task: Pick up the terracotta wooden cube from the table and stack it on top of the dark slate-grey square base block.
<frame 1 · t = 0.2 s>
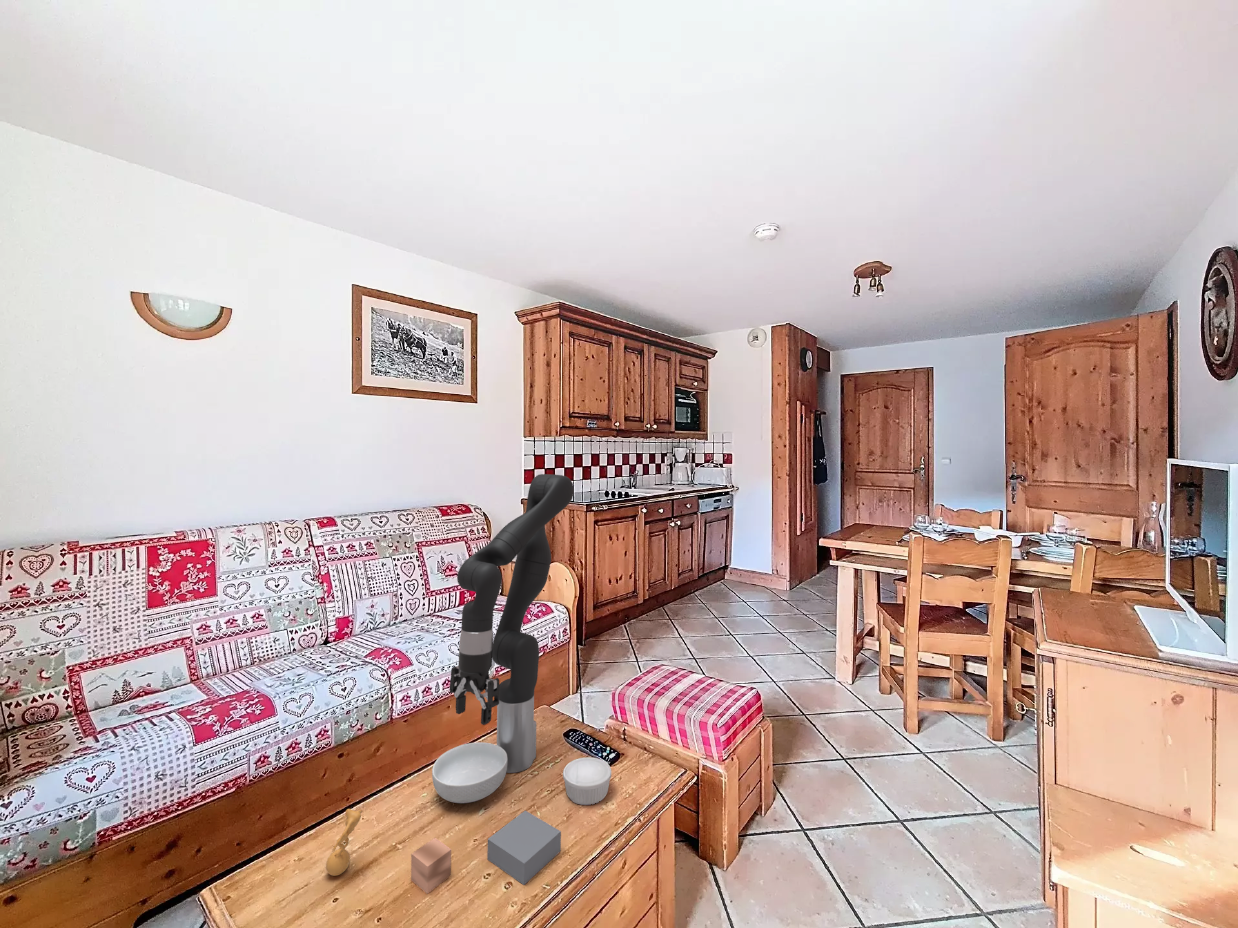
hand: (472, 717, 118), 17 cm above the table, tool pointing down, fingers open, 8 cm apart
ramekin: (586, 793, 119), on the table
cereal bowl: (470, 792, 119), on the table
figurine: (343, 873, 95), on the table
slate base: (524, 855, 100), on the table
terracotta cube: (431, 877, 94), on the table
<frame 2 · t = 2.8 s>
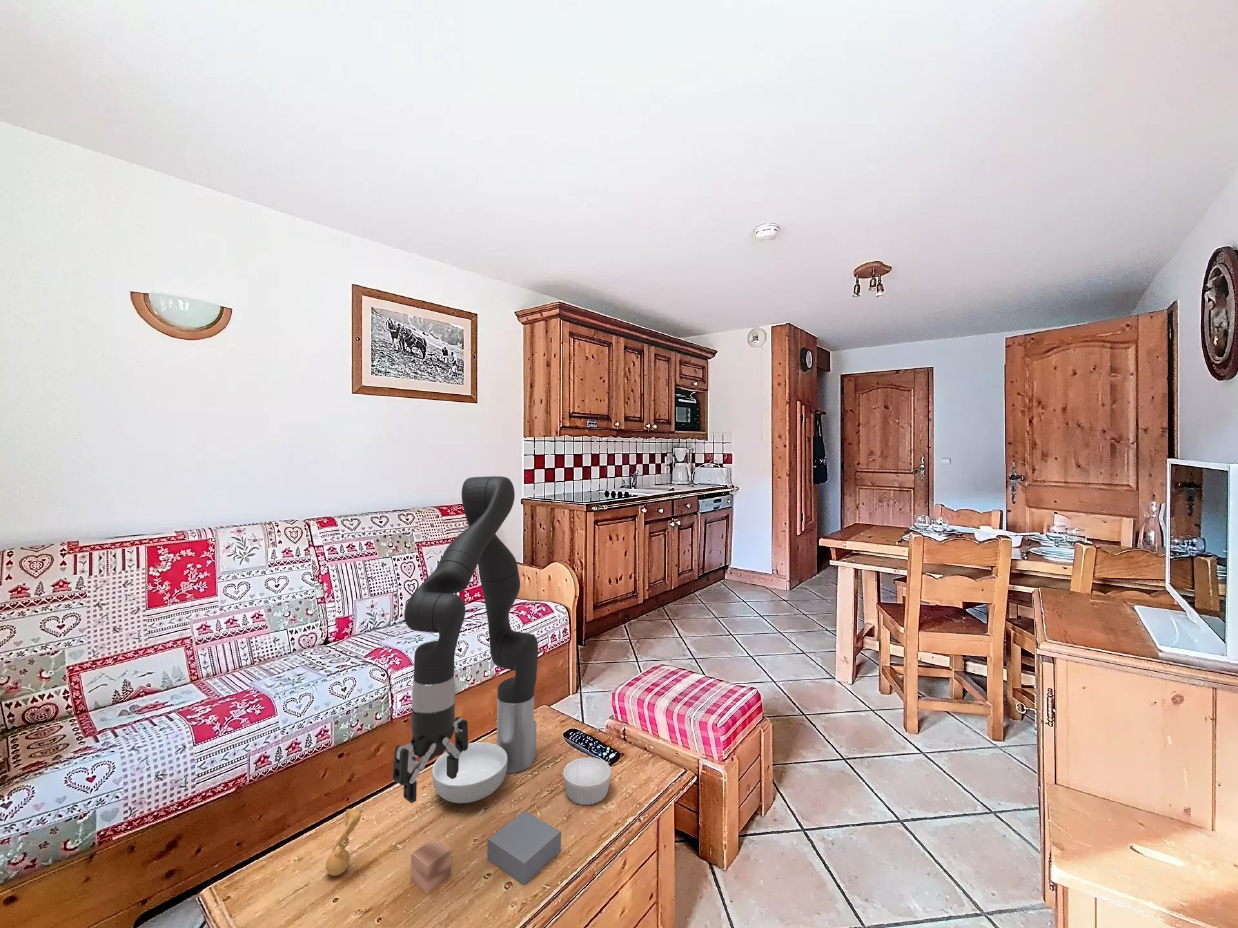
hand: (431, 788, 94), 17 cm above the table, tool pointing down, fingers open, 8 cm apart
nothing on the table moved.
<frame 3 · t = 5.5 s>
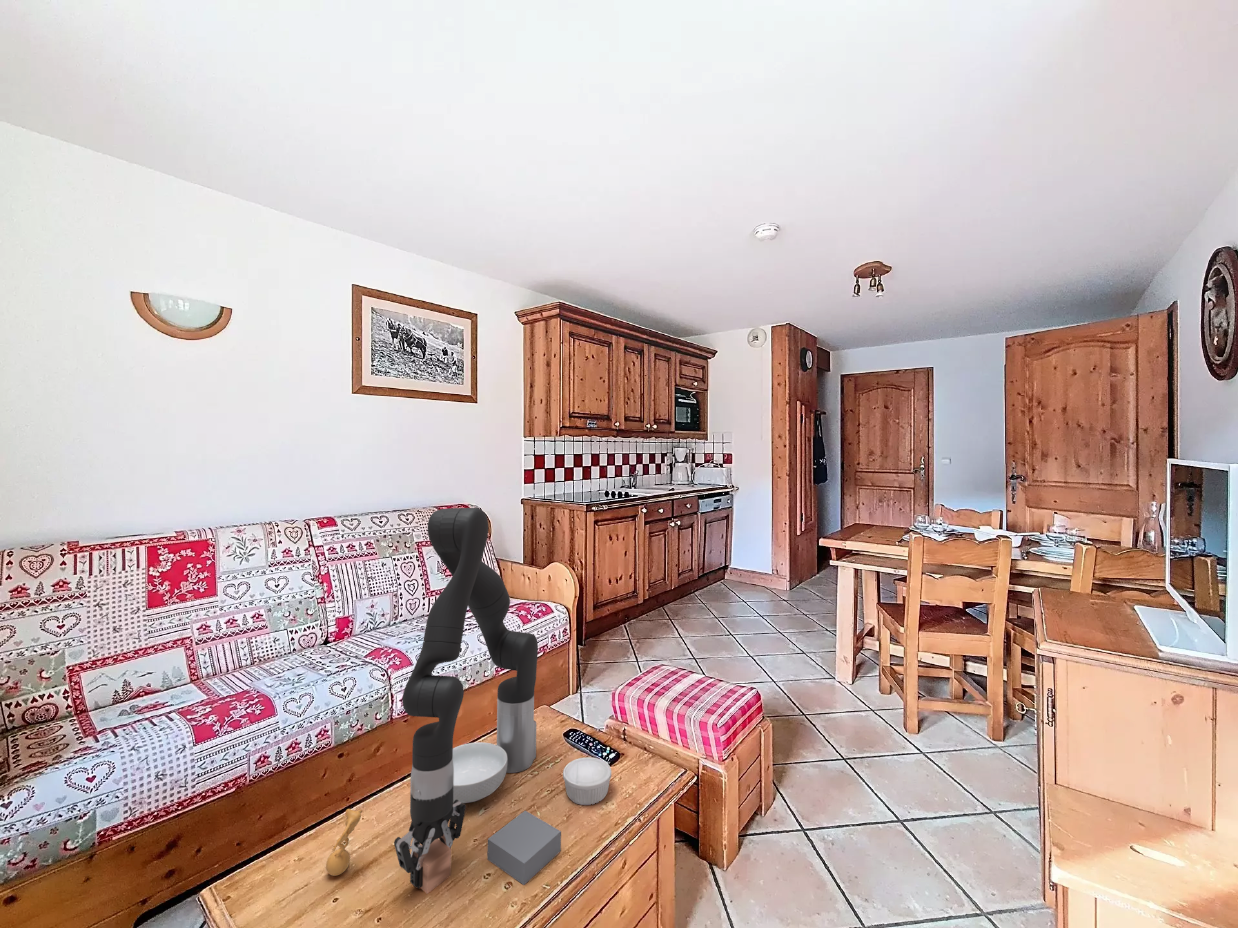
hand: (431, 874, 94), 0 cm above the table, tool pointing down, fingers closed on terracotta cube, 5 cm apart
terracotta cube: (431, 877, 94), on the table, touching gripper
everything else where it was.
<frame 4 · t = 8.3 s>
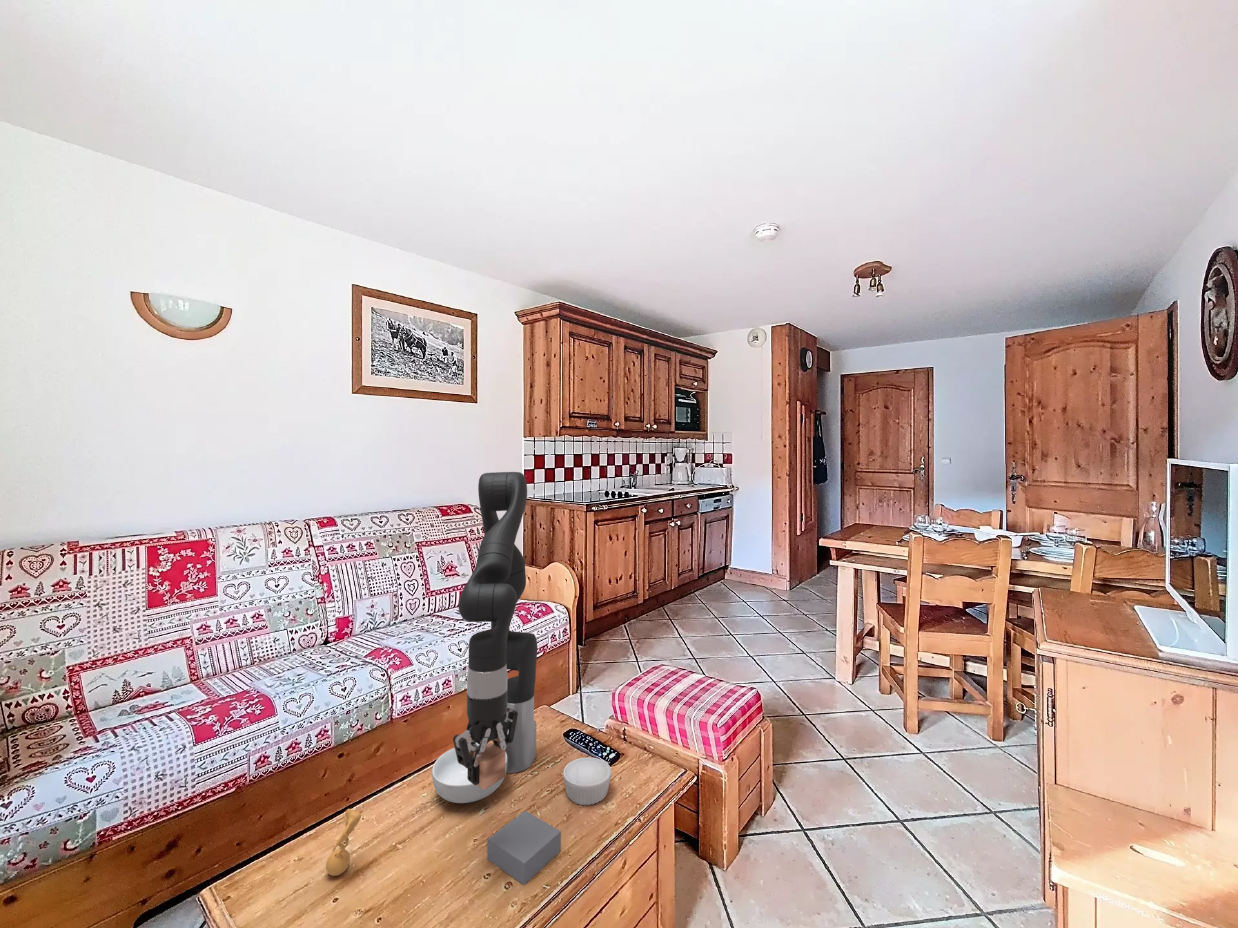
hand: (486, 775, 98), 17 cm above the table, tool pointing down, fingers closed on terracotta cube, 5 cm apart
terracotta cube: (486, 777, 98), point 17 cm above the table, touching gripper
everything else where it was.
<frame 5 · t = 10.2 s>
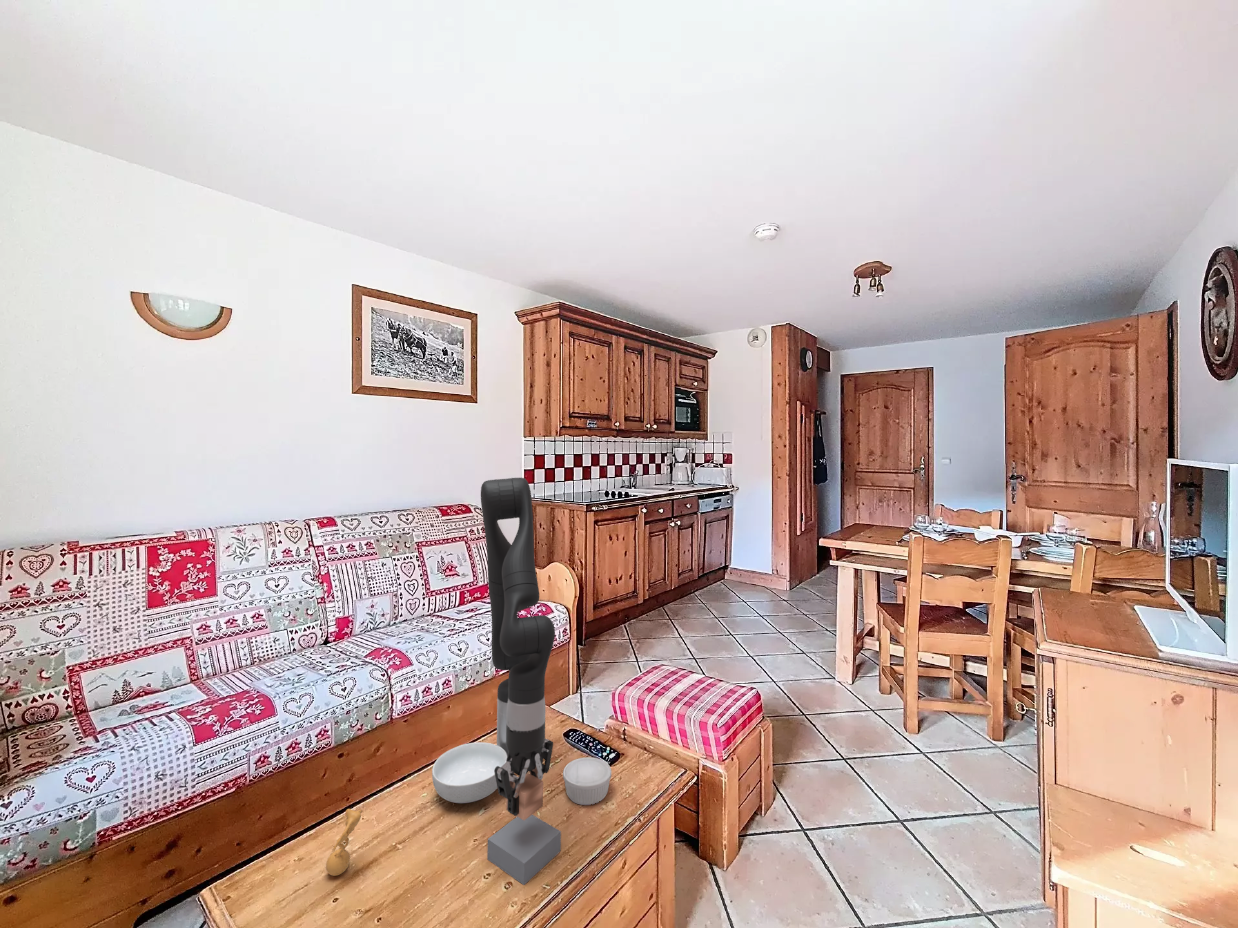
hand: (524, 805, 100), 10 cm above the table, tool pointing down, fingers closed on terracotta cube, 5 cm apart
terracotta cube: (524, 807, 100), point 9 cm above the table, touching gripper
everything else where it was.
when the fingers open (6 cm above the table, at t = 11.4 s): terracotta cube drops 1 cm, resting on slate base.
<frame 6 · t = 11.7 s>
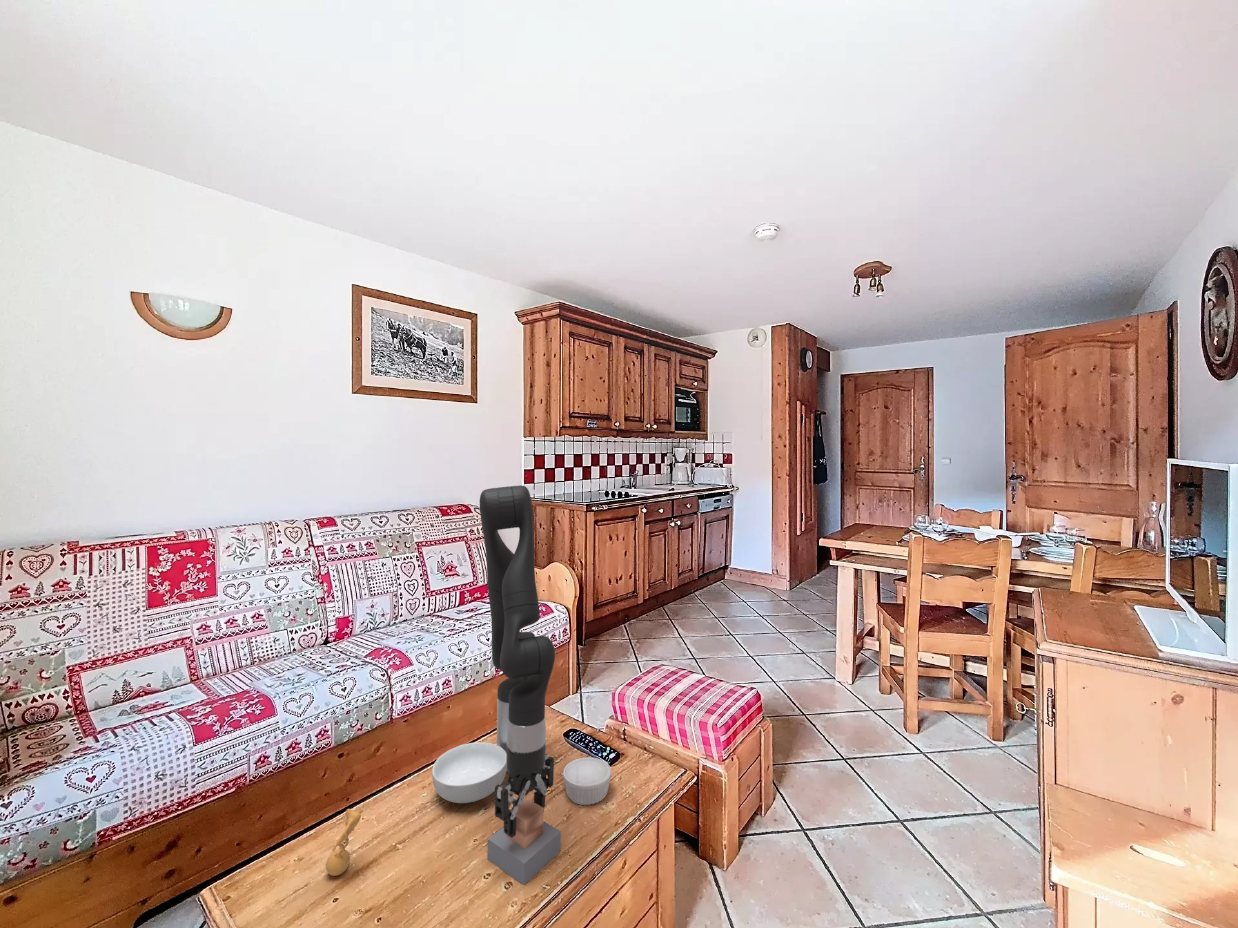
hand: (524, 823, 100), 6 cm above the table, tool pointing down, fingers open, 7 cm apart
terracotta cube: (525, 834, 100), point 4 cm above the table, touching slate base
everything else where it was.
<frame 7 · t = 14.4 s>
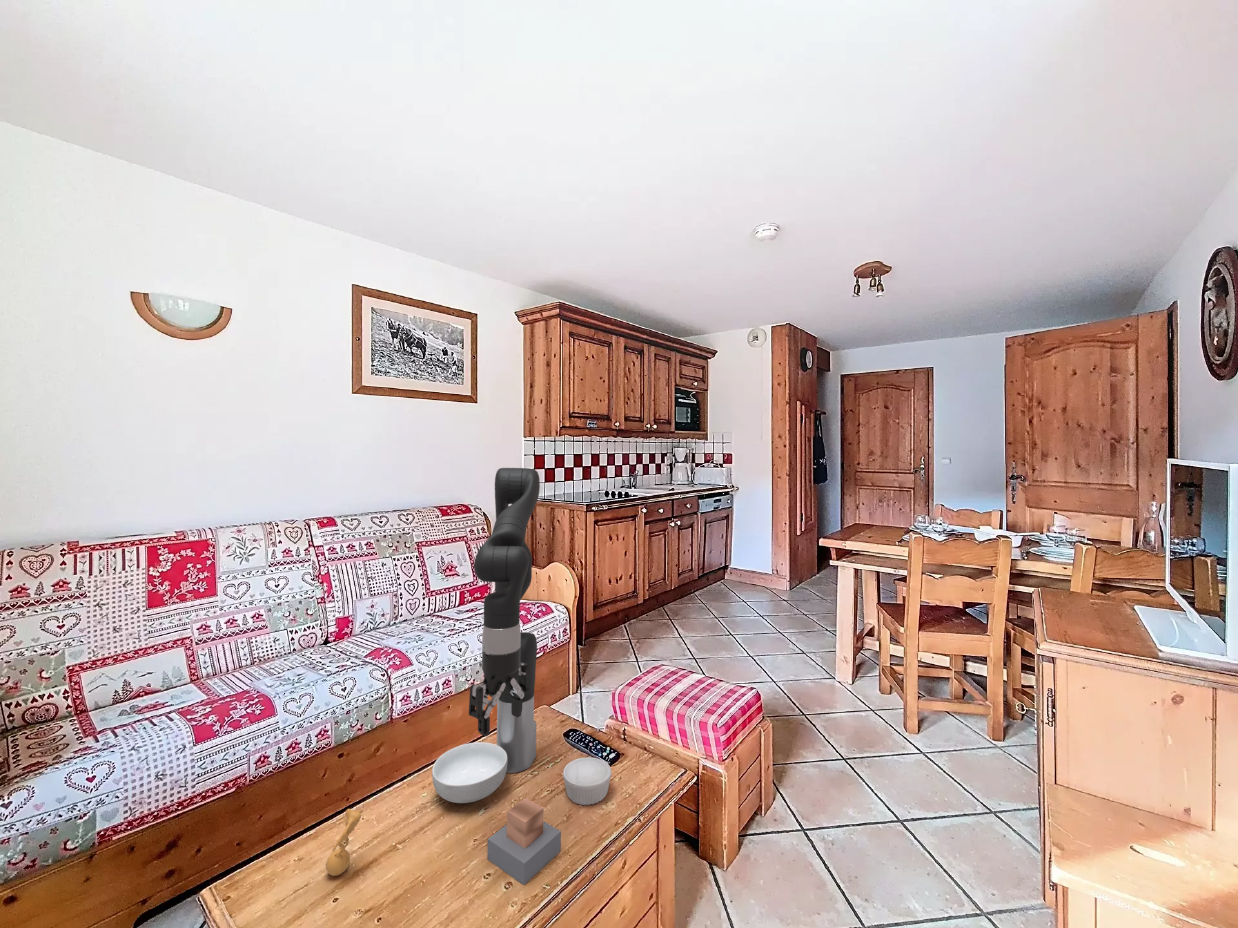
hand: (500, 724, 102), 24 cm above the table, tool pointing down, fingers open, 8 cm apart
nothing on the table moved.
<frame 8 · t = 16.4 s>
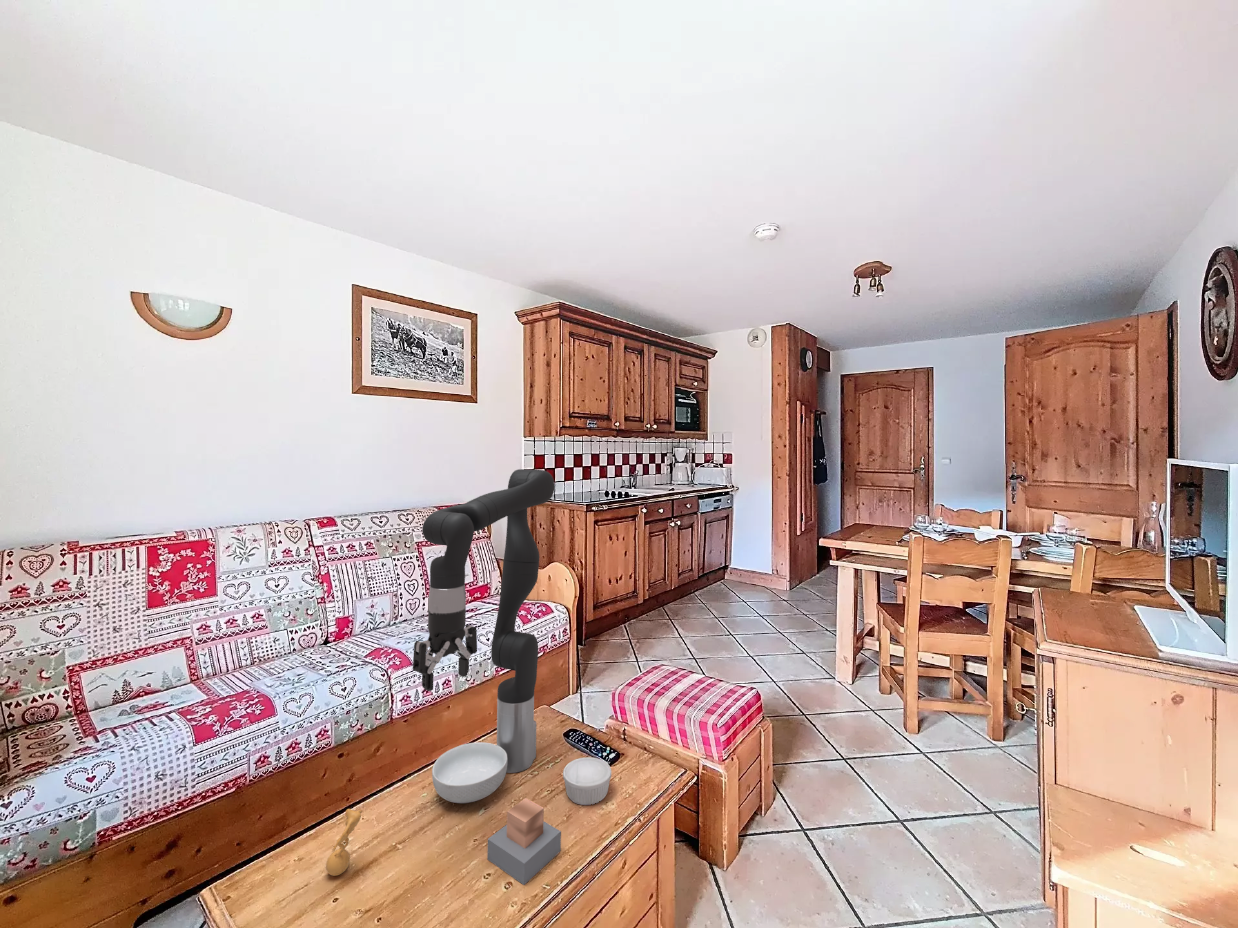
hand: (446, 682, 108), 30 cm above the table, tool pointing down, fingers open, 8 cm apart
nothing on the table moved.
at the end: terracotta cube inside the target area on the slate base (0.1 cm from its centre), point 4.0 cm above the slate base's base; terracotta cube tilted 0°; the gripper is holding nothing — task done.
